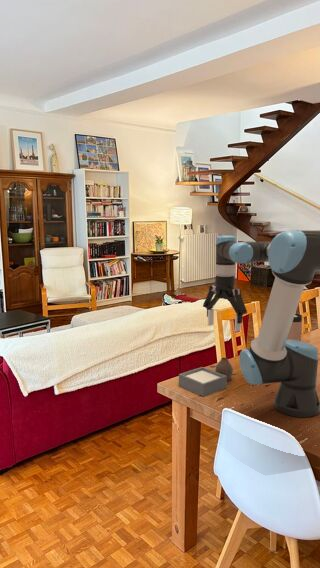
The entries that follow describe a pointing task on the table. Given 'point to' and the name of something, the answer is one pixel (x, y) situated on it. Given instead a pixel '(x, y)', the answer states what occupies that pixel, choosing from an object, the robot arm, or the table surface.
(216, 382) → the gray square tray
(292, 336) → the travel mug
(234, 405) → the table surface
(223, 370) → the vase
